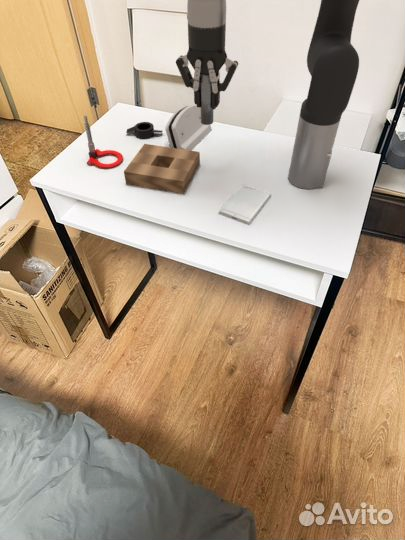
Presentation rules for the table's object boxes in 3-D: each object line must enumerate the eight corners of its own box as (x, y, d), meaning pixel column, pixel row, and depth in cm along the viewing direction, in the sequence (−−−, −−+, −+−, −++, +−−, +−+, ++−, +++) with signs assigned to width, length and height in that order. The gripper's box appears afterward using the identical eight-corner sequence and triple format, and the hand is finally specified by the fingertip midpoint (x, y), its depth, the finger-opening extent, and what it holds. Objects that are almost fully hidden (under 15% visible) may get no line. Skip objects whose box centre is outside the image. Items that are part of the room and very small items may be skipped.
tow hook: (127, 155, 110) (97, 151, 110) (121, 112, 100) (88, 108, 101) (117, 172, 104) (85, 167, 105) (110, 128, 94) (75, 123, 95)
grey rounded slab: (186, 155, 108) (173, 121, 102) (173, 156, 111) (160, 123, 105) (212, 129, 118) (202, 97, 112) (200, 131, 121) (189, 99, 115)
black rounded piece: (141, 125, 121) (140, 117, 119) (165, 135, 117) (164, 126, 115) (124, 135, 117) (123, 126, 115) (148, 145, 113) (147, 136, 110)
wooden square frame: (199, 164, 105) (199, 151, 102) (184, 194, 96) (183, 181, 93) (146, 156, 108) (144, 143, 105) (126, 184, 99) (123, 171, 96)
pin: (214, 119, 90) (215, 70, 82) (211, 125, 88) (211, 76, 80) (202, 118, 91) (202, 69, 83) (199, 123, 89) (198, 74, 81)
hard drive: (242, 183, 97) (218, 210, 90) (271, 193, 95) (249, 221, 87) (241, 189, 99) (218, 215, 92) (270, 198, 96) (249, 227, 89)
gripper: (245, 17, 75) (240, 103, 88) (179, 11, 78) (183, 96, 91) (237, 28, 70) (232, 118, 83) (166, 23, 73) (172, 110, 86)
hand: (206, 106), depth 87 cm, fingers closed on pin, 3 cm apart
